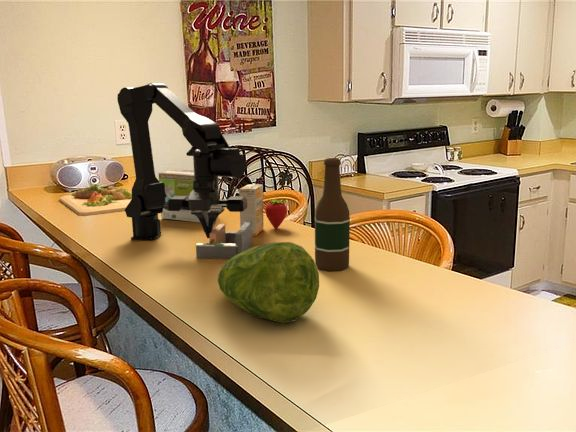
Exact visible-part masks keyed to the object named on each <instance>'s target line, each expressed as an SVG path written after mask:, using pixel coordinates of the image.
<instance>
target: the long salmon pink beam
mask: <svg viewBox="0 0 576 432" xmlns="http://www.w3.org/2000/svg"><path fill="white" fill-rule="evenodd" d="M226 232H227V231H226V223H218V224H217V226H216V227H214V229H213V231H212V232H211V233H210V238H209V242H208V243H209V244H212V243H226Z"/></svg>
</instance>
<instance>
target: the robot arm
mask: <svg viewBox="0 0 576 432" xmlns="http://www.w3.org/2000/svg"><path fill="white" fill-rule="evenodd" d="M116 101H117V104H118V108H119V110H120V111H119V112H120V114H121V116H122V117H123V118H124V119H125V121H126V122H127V123H128V130H129V137H130V143H131V144H130V146H131V152H132V158H133V165H134V166H133V167H134V171H135V172H134V173H135V180H134V183H133V185H132V186H131V194H132V200H131V201H130V202H129V204H128V205H127V207H126V208H125V211H124V212H125V214H126V217H127V218H131V224H132V225H131V226H132V236H131V237H130V240H131V241H132V240H139V241H141V240H142V241H153V240H154V241H155V239H157V238H158V237H160V236H162V229H161V226H162V225H161V219H159V214H161V213H162V212H163V207H164V204H165V197H167V196H166V193H165V184H164V182H161V183H160V182H159V178H158V177H156V173H155V171H156V170H155V165H154V163H155V162H154V156H153V149H152V142H151V136H150V135H151V134H150V128H149V127H150V126H149V121H150V117H151V116H152V114H153V104H155V105H157V107H159V108H160V110H162V111H163V112H164V113H165V114H167V116H168V117H169V118H170V119H171V120H173V121H174V122H175V123H176V124H177V125H178V126H179V127H180V129H181V130H182V135H183V137H184V138H185V139H186V141H187V143H189V144H190V146H191V148H190V149H188V151H187V152H186V153H185V154H186V156H188V157H192V161H193V170H194V181H193V190H192V191H191V193H190V195H189V197H188V196H174V197H172V198H170V199H169V200H168V201H167V211H180V210H181V209H182V208H183V207H190V210H191V211H192V212H191V214H193V215H195V216H196V217H197V218H198V219H199V221H200V225H201V227H202V229H203V232H204V234H205V236H206V238H207V239H210V233H211V232H212V231H213V230H214V229H215V226H216V222H217V220H218V218H219V216H220V215H221V214H222V213H224V212H225V210H226V209H227V210H228V211H229V212H231V213H232V212H234V213H240V212H242V211H244V210H245V209H246V208H247V199H246V198H245V196H238V195H236V196H232V195H230V197H228V198H227V199H221V196H220V187H219V182H220V177H223V178H233V179H240V178H242V177H243V175H245V172H246V169H247V162H246V159H245V157H244V156H243V154H241V153H240V152H241V151H240V148H238V147H235V148H234V147H233V148H231V147H230V144H229V143H228V141H227V140H226V139H225V137H224V135H223V134H222V131H221V127H220V126H219V124H218V123H217V122H215V121H213V120H212V119H209V118H208V117H206V116H203V115H200V114H198V113H196V112H195V111H194V110H193V109H191V108H190V107H189V106H188V105H187V104H185V102H183V101H182V100H181V99H180V98H179V97H178V96H177V95H176V94H174V92H173V91H171V90H170V89H169V87H168V86H167V84H164V83H162V82H161V83H158V82H157V83H156V82H152V83H151V82H150V83H148V84H145V85H141V86H137V87H122V88H121V89H120V90H119V93H117V100H116ZM225 208H226V209H225ZM210 209H211V211H209V210H210ZM208 211H209V212H208Z"/></svg>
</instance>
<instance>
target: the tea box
mask: <svg viewBox="0 0 576 432" xmlns="http://www.w3.org/2000/svg"><path fill="white" fill-rule="evenodd" d="M158 180H159V182H160V183H161V182H164V184H165V193H166V196H167V197H165V204H164V207H163V212H162V213H160V216H161V220H175V221H185V222H192V223H197V224H198V223H200V221H199V219H198V218H197V217H196V216H195V215H193V214H191V212H192V211H191V210H190V207H183V208H182V209H181V210H180V211H167V201H168V200H169V199H170V198H172V197H174V196H188V197H189V195H190V193H191V191H192V190H193V181H194V169H182V168H175V169H171V170H167V171H163V172H159V173H158ZM209 211H211V209H210V210H209ZM209 211H208V212H209ZM200 224H201V223H200Z"/></svg>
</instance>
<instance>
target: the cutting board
mask: <svg viewBox="0 0 576 432" xmlns="http://www.w3.org/2000/svg"><path fill="white" fill-rule="evenodd" d="M131 200H132V192H131V191H129V189H127V188H126V187H120V188H119V187H115V186H114V185H109V186H108V187H100V185H99V183H93V184H91V185H89V187H84V188H82V187H81V188H79V189H78V190H77V191H74V192H73V193H71V194H69V195H68V194H67V195H63V196H60V197H59V201H60V203H62V204H64V205H66V207H68V208H69V209H70V210H72V211H73V212H74V213H76V214H78V216H83V217H84V216H86V217H87V216H93V215H100V214H101V215H103V214H109V213H118V212H125V208H126V207H127V205H128V204H129V202H130V201H131Z"/></svg>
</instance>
